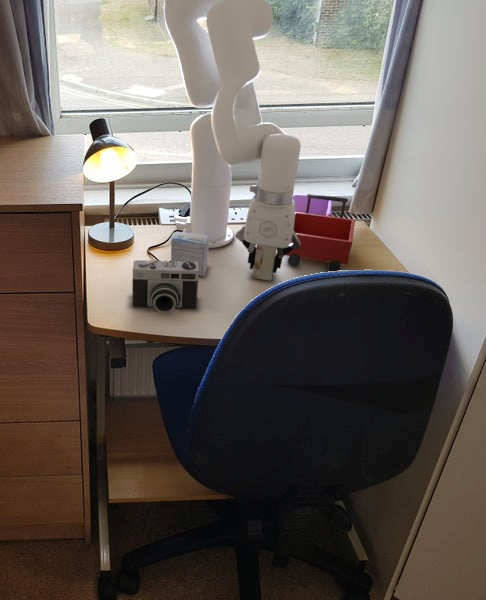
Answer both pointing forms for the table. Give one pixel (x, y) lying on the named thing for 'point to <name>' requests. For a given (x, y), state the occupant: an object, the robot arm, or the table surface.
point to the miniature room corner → (312, 205)
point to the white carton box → (264, 262)
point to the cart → (323, 236)
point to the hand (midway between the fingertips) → (263, 267)
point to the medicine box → (190, 249)
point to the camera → (165, 285)
